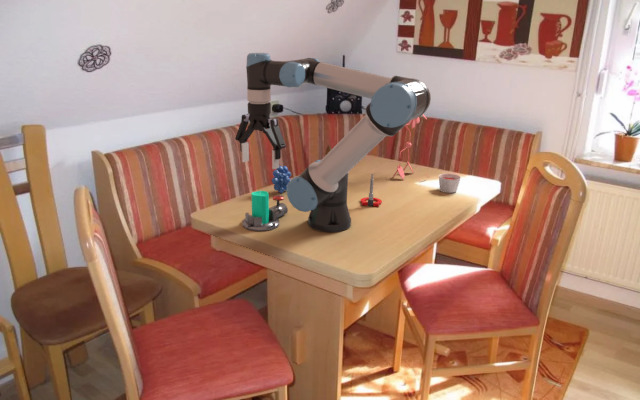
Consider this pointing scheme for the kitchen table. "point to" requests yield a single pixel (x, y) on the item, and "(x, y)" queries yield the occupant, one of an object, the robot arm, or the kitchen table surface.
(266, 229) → the fitting
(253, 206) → the candle
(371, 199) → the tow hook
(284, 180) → the grapes
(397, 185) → the kitchen table surface
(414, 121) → the figurine
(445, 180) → the candle
